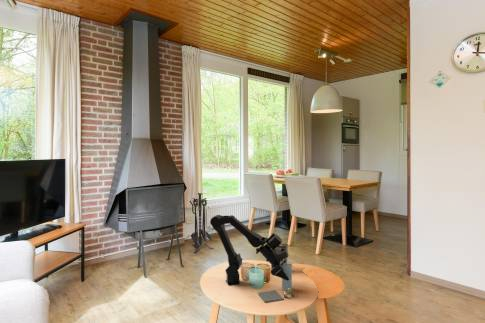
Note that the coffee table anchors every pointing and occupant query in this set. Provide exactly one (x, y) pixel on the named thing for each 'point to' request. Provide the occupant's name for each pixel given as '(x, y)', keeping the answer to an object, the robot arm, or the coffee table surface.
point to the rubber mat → (270, 296)
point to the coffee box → (280, 249)
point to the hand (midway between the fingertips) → (289, 276)
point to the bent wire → (289, 293)
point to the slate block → (288, 271)
